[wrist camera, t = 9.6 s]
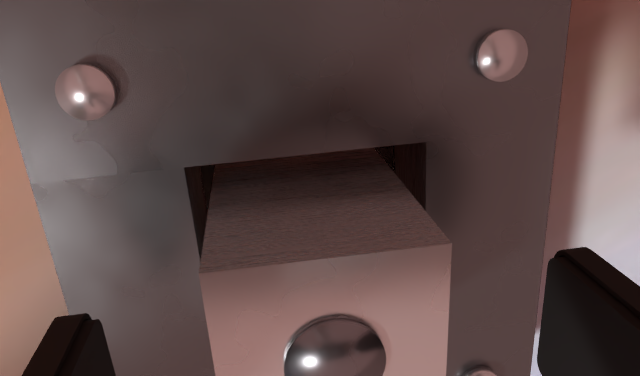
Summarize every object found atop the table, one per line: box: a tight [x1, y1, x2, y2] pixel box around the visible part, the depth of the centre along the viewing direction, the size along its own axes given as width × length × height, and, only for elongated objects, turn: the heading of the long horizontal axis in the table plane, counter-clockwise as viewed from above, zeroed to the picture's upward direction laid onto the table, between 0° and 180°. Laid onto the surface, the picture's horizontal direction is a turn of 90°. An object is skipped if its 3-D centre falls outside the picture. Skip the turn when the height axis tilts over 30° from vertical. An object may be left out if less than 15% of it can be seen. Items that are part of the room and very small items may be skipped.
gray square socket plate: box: [0, 0, 571, 376], centre depth 15 cm, size 14×13×3 cm
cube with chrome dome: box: [199, 147, 452, 376], centre depth 13 cm, size 5×5×7 cm
